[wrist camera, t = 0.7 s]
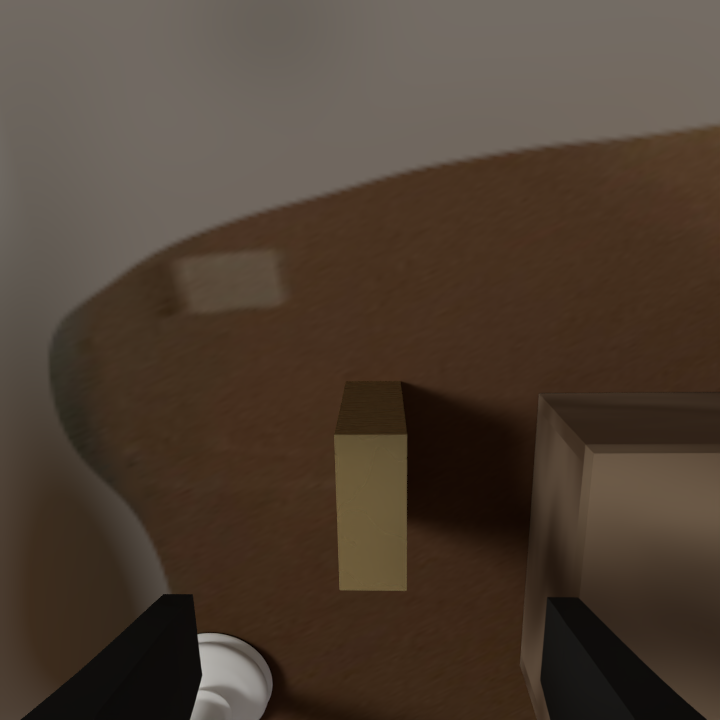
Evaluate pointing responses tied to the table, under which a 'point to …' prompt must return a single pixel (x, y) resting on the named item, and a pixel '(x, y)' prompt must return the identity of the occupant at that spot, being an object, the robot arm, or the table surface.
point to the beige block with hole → (630, 531)
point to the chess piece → (231, 680)
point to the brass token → (371, 487)
